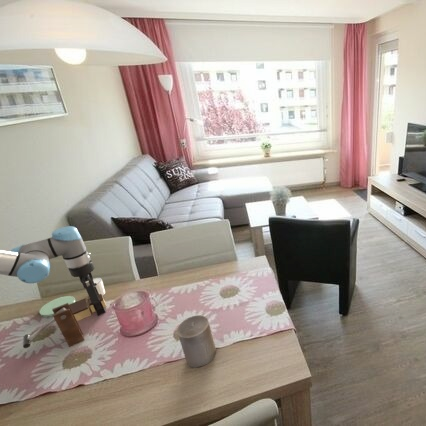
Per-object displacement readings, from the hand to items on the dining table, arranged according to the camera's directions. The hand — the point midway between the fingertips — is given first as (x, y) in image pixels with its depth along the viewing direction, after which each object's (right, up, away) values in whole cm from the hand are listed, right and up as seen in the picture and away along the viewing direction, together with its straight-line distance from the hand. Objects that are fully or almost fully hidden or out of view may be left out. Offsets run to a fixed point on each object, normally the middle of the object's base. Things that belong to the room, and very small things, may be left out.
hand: (99, 306), depth 124 cm
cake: (-5, -3, -4) cm, 7 cm away
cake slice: (0, -1, 0) cm, 1 cm away
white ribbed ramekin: (-8, +2, +9) cm, 12 cm away
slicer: (0, 0, -23) cm, 23 cm away
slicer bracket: (+4, -8, -16) cm, 18 cm away
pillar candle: (+53, -9, -24) cm, 59 cm away
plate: (-20, -1, +3) cm, 20 cm away
